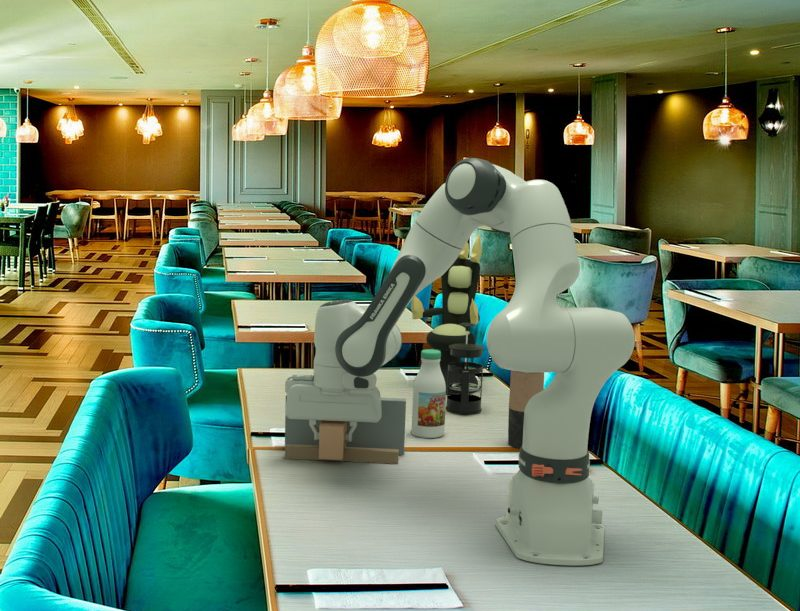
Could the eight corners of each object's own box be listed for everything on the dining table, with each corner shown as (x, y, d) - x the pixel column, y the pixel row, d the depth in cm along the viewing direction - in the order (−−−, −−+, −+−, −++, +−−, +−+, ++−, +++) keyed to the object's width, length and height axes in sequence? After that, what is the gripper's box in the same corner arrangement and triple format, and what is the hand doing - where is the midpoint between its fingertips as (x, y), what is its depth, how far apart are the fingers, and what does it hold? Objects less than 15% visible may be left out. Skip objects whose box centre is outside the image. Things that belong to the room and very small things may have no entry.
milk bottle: (405, 435, 212) (408, 351, 209) (420, 427, 219) (423, 346, 216) (435, 440, 209) (439, 355, 206) (449, 432, 216) (453, 350, 213)
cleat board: (402, 463, 191) (404, 408, 190) (280, 458, 192) (280, 402, 191) (404, 451, 200) (406, 398, 198) (286, 446, 201) (287, 393, 199)
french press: (445, 404, 242) (449, 319, 239) (480, 405, 242) (485, 320, 239) (445, 415, 231) (449, 326, 227) (482, 417, 230) (486, 328, 227)
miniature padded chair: (406, 391, 255) (411, 231, 249) (428, 375, 276) (434, 227, 269) (471, 398, 249) (479, 234, 243) (489, 382, 270) (497, 230, 264)
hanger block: (342, 459, 189) (343, 427, 188) (318, 458, 189) (319, 426, 188) (346, 449, 196) (346, 418, 195) (323, 448, 196) (323, 417, 195)
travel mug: (539, 451, 204) (544, 363, 201) (505, 447, 205) (509, 361, 202) (541, 441, 211) (546, 357, 208) (508, 438, 213) (512, 354, 210)
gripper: (282, 377, 188) (281, 442, 190) (381, 381, 187) (379, 446, 189) (287, 371, 194) (286, 434, 196) (383, 375, 193) (381, 438, 195)
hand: (333, 440), depth 192 cm, fingers closed on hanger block, 5 cm apart
